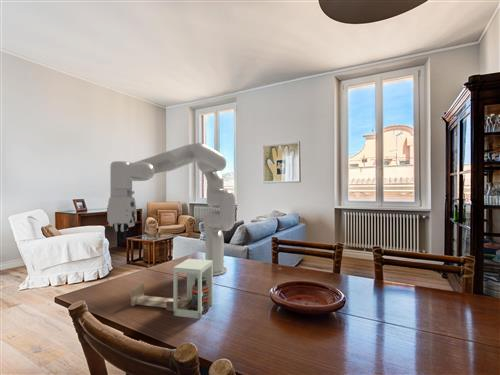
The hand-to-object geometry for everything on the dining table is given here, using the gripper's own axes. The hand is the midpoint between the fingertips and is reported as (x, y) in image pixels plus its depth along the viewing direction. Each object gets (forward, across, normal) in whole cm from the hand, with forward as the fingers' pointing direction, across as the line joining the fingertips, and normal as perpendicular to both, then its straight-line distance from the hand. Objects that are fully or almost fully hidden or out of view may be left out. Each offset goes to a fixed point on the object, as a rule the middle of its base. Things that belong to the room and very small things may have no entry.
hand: (121, 241), depth 101 cm
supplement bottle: (+23, -32, 0) cm, 40 cm away
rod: (+23, -17, 0) cm, 29 cm away
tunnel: (+23, -30, 0) cm, 38 cm away
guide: (+23, -22, 0) cm, 32 cm away
